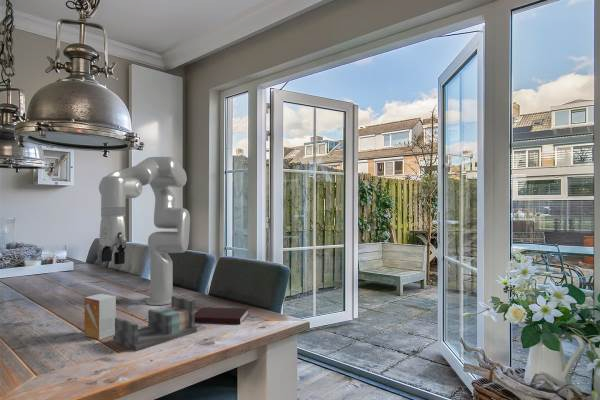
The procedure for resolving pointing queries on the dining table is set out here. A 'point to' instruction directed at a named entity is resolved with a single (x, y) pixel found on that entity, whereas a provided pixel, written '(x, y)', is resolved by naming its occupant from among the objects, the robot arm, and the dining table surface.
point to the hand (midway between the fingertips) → (112, 262)
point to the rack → (158, 325)
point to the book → (221, 315)
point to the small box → (100, 316)
